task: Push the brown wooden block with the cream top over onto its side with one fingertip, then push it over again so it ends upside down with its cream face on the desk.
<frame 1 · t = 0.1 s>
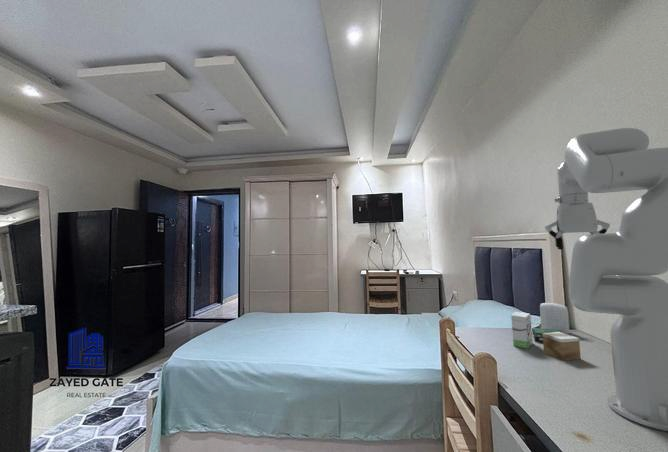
hand: (577, 249, 94), 37 cm above the table, tool pointing down, fingers open, 9 cm apart
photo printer: (555, 331, 122), on the table
block: (561, 355, 95), on the table
disk drive: (548, 340, 112), on the table
ink box: (523, 345, 106), on the table
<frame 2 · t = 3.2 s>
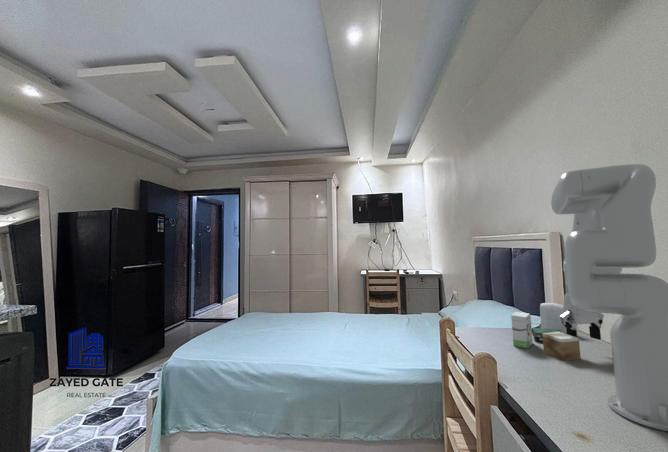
hand: (583, 339, 97), 5 cm above the table, tool pointing down, fingers open, 9 cm apart
block: (561, 355, 95), on the table, touching gripper
everything else where it was.
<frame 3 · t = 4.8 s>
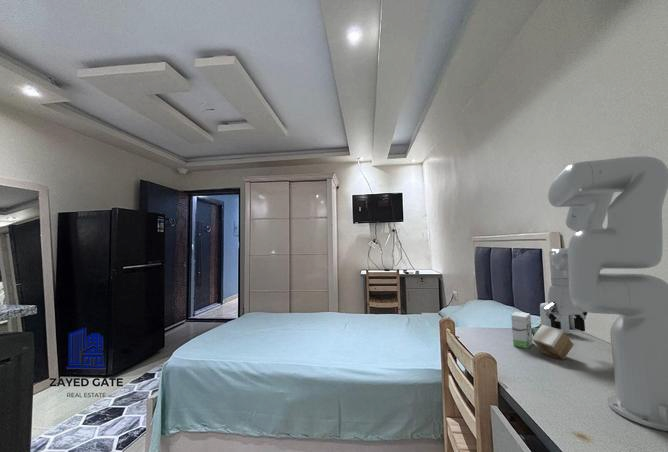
hand: (568, 331, 97), 8 cm above the table, tool pointing down, fingers open, 9 cm apart
block: (557, 348, 95), point 2 cm above the table, tilted 40°, touching gripper
everything else where it was.
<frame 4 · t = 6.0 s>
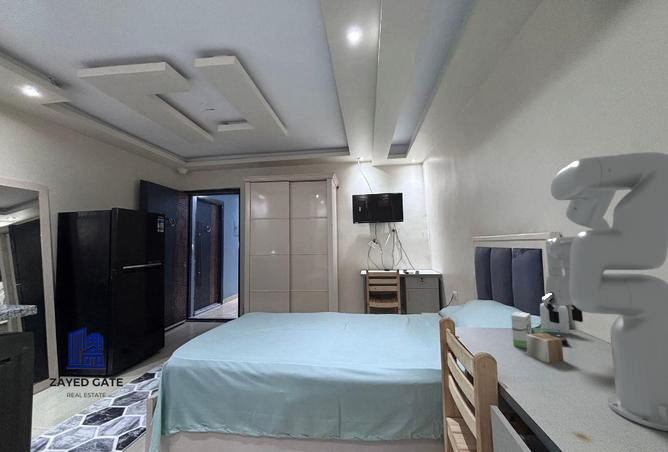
hand: (566, 321, 96), 12 cm above the table, tool pointing down, fingers open, 9 cm apart
block: (552, 346, 95), point 3 cm above the table, tilted 90°
everything else where it was.
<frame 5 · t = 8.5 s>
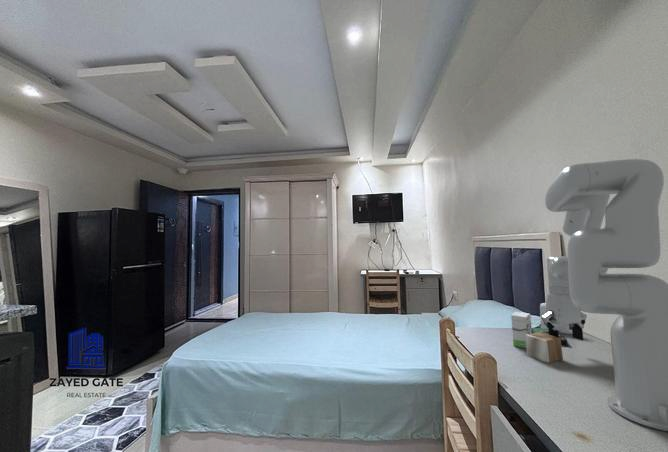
hand: (566, 339, 96), 5 cm above the table, tool pointing down, fingers open, 9 cm apart
block: (551, 345, 95), point 4 cm above the table, tilted 92°, touching gripper
everything else where it was.
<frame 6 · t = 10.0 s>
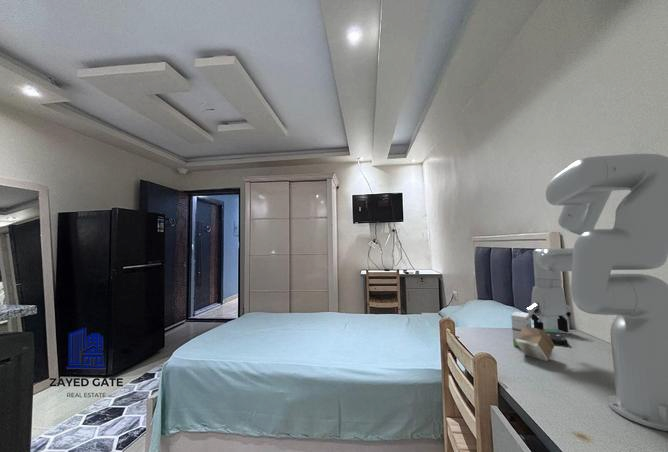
hand: (551, 331, 96), 8 cm above the table, tool pointing down, fingers open, 9 cm apart
block: (538, 335, 96), point 7 cm above the table, tilted 128°, touching gripper
everything else where it was.
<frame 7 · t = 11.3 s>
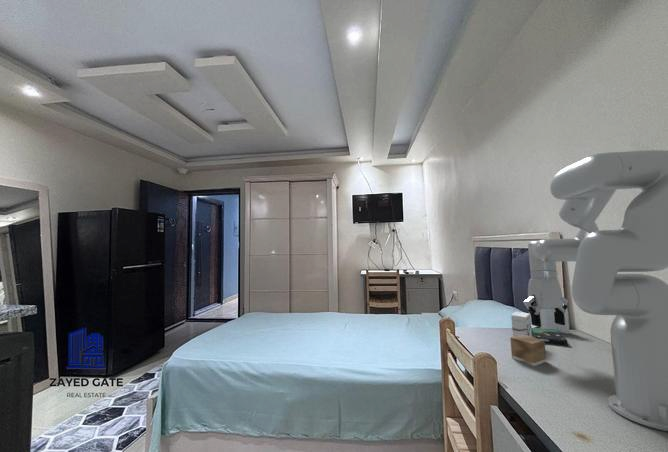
hand: (548, 325, 94), 11 cm above the table, tool pointing down, fingers open, 9 cm apart
block: (527, 338, 92), point 7 cm above the table, tilted 180°
everything else where it was.
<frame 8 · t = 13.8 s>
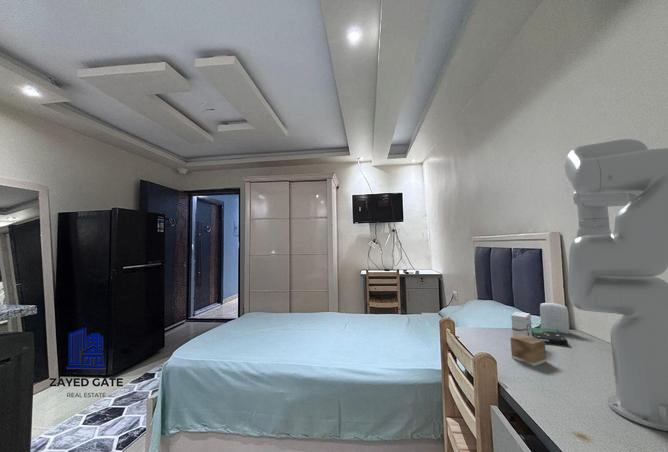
hand: (598, 275, 91), 28 cm above the table, tool pointing down, fingers open, 9 cm apart
nothing on the table moved.
at the end: block tilted 180°; block inside the target area (1.7 cm from its centre), point 6.9 cm above the table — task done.
